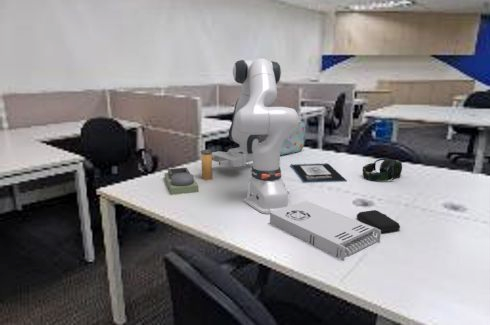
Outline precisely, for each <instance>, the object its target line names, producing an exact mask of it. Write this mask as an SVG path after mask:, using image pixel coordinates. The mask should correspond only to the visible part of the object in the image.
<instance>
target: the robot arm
mask: <svg viewBox="0 0 490 325" xmlns="http://www.w3.org/2000/svg"><path fill="white" fill-rule="evenodd" d="M232 76H233V79H234V81H235V83H237V84H241V89H240V91H241V92H240V97H238V98H237V100H236V102H235V105H234V110H233V114H232V115H233V116H232V119H231V124H230V127H229V130H228V138H229V140H230V141H232V142H234V143H236V144H238V145H239V147H234V148H230V149H228V150H227V152H225V151H212V162H213V161H214V162H217V163H218V165H220V166H224V165H225V166H230V167H235V168H238V167H245V166H246V165H247V163H250V162H252V166H251V178H250V179H249V181H248V185H247V194H246V196H247V197H245V198H244V200H243V202H244V203H246V204H247V205H248V206H250V207H252V208H253V209H254V210H256V211H258V212H259V213H261V214H267V215H270V212H273V211H276V210H279V209H282V208H285V207H288V206H291V205H293V203H292V202H291V200H290V199H289V195H290V189H289V188H286V183H284V181H283V179H282V170H281V167H280V165H281V164H280V162H281V155H280V153H281V148H282V145H283V143H284V141H285V140H286V139H287V137H288V136H289V135H290V134H292V133H293V132H294V131H295V130H296V129H297V127H298V125H299V121H300V117H299V114H298V112H297V110H295V109H294V108H291V107H285V106H270V105H272V104H273V103H274V102H275V100H276V99H277V96H278V90H277V84H278V83H279V82H280V80H281V76H282V69H281V65H280V63H278V62H277V61H273V60H272V61H269V60H268V59H266V58H263V57H262V58H261V57H260V58H257V59H247V60H244V59H239V60H236V61H235V63H234V65H233V68H232ZM260 135H267V137H266V138H265V140H264V141H261V142H260Z"/></svg>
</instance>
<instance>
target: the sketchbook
mask: <svg viewBox="0 0 490 325" xmlns="http://www.w3.org/2000/svg"><path fill="white" fill-rule="evenodd" d="M290 168H291V169H292V170H293V172H294V173H295V174H296V175H297V177H298V178H299V179H300V181H301V182H302V183H303V184H315V183H318V184H319V183H321V184H322V183H347V182H348V180H347V179H346V178H345V177H344V176H343V175H342V174H341V173H339V172H338V171H337V170H336V169H335V168H334V167H332V165H330V163H328V162H321V163H320V162H318V163H317V162H316V163H305V162H304V163H291V164H290Z"/></svg>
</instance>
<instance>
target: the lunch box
mask: <svg viewBox="0 0 490 325" xmlns="http://www.w3.org/2000/svg"><path fill="white" fill-rule="evenodd" d="M306 128H307V127H306V123H305V122H304V121H302V120H299V125H298V127H297V129H296V130H295V131H294V132H293V133H292V134H290V135H289V136H288V137H287V139H286V140H285V141H284V143H283V145H282V148H281V153H280V156H284V155H292V154H294V153H299V152H301V151H302V150H303V148H304V147H305V141H306V131H307V130H306Z"/></svg>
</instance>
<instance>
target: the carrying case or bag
mask: <svg viewBox="0 0 490 325" xmlns="http://www.w3.org/2000/svg"><path fill="white" fill-rule="evenodd" d="M356 218H357V219H358V221H359V222H362V223H364V224H367V225H369V226H372V227H374V228H377V229H379V230H381V234H384V232H385V233H390V231H391V232H396V231H395V230H397V231H399V230H400V228H401V225H400V223H398V222H397V221H395V220H394V219H393V218H391V217H389V216H387V214H386V213H382V212H381V211H379V210H376V209H375V210H374V209H372V210H366V211H359V212H358V213H356Z"/></svg>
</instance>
